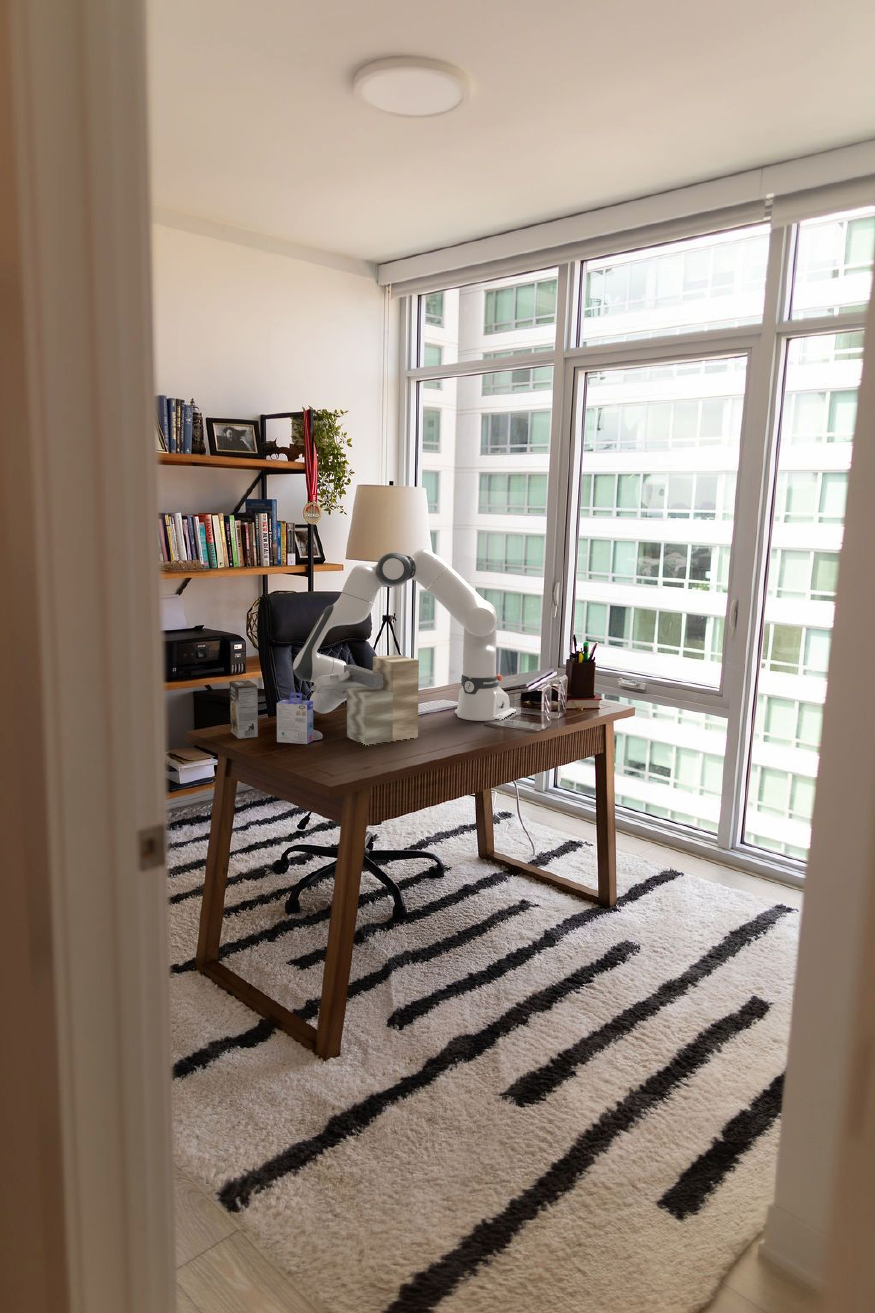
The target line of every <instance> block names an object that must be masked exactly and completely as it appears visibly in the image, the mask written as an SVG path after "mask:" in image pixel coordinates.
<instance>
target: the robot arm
mask: <svg viewBox="0 0 875 1313" xmlns="http://www.w3.org/2000/svg"><path fill="white" fill-rule="evenodd" d="M409 580H412V581H415V582H417V583H418V584H420V586H422V587H423V588H424V589H425V590H426V592H428V593H429V594H430V595H431V596H433V598H435V600H437V602H438V603H440V604H441V606H443V607H444V608H445V609H446V610H447V611H448V613H449V614H450V615H451V616H452V617H453V618H454V619H455V620H456V621H457V622H458V623H459V624H460V625H461V626H462V627H463V647H462V648H463V652H462V653H463V654H462V674H461V679H460V681H461V682H460V684H461V688H460V689H459V691H458V698H457V699H458V700H457V708H455V709H454V713H455V714H456V716H457V717H458V718H460V719H463V720H467V721H478V722H479V721H481V722H484V721H495V720H494V719H503V720H505V719H506V718H505V717H507V716H508V715H510V714H511V713H514V712H515V711H516V712H517V709H516V708H513V707H510V696H509V695H508V693H507V692H506V691H504V690H503V689H502V688H501V687H500V685H499V682H503V679H504V678H503V675H502V674H497V626H498V625H497V624H498V613H497V610H496V607H495V606H494V605H493V604H492V603H491V602H490V601H488V600H486V599H484V598H483V597H482V596H480V594H479V593H478V592H477V591H476V590H475V589H474V588H473V587H472V586H471V584H469V583H468V582H467V581H466V580H465V579H464V578H463V577H462V576H461V575H460V574H459V573H458V572H457V571H456V570H455V569H454V568H452V567H451V566H450V565H449V564H448V563H447V561H445V560H444V559H443V558H441V557H440V556H439V555H438V554H436V553H434V552H432V551H431V550H429V549H427V548H422V549H419V550H417V551H415V552H414V553H413V554H412V555H406V554H402V553H398V552H389V553H385V555H382V556H381V557H380V559H379V560H378V562H377V564H376V565H374V566H370V565H368V564H359V565H355V566H354V567H353V568H352V569H351V571H350V573H349V575H348V577H347V579H346V581H345V583H344V585H343V588H342V590H341V594H340V595H339V598H338V599H337V600H336V601H335V602H334V603H332V604H331V605H327V606H326V607H325V609H324V610H323V611H322V612H321V614H320V616H319V617H318V619H317V621H316V622H315V624H314V626H313V628H312V630H311V632H310V634H309V635H308V637H307V639H306V641H305V642H304V644H303V646H302V648H301V649H300V651H299V653H298V654H297V655H296V657H295V659H294V661H293V664H292V671H293V673H294V675H295V676H296V678H297V679H298V680H300V681H305V682H310V683H313V684H314V685H312V686H311V687H310V689H309V690H310V691H311V692H312V691H313V692H312V694H311V696H310V698H309V701H313V711H315V712H317V713H318V714H327V713H330V712H332V711H333V710H335V709H336V708H338V707H339V706H340V704H342V703H344V702H345V701H347V689H348V688H357V687H366V686H365V685H363V684H360V683H357V682H354V681H351V680H348V679H347V678H350V677H351V676H352V672H351V671H346V672H345V673H344V665H348V663H347V662H346V661H344V660H342V659H339V658H336V657H332V656H329V655H326V654H321V653H319V652H318V651H319V650H318V649H320V646H321V645H322V643H323V641H324V639H325V637H326V636H327V633H328V632H329V630H331V629H332V628H334V627H337V626H346V625H347V626H349V625H356V624H360V623H362V622H363V621H366V619H368V617H369V615H370V613H371V611H372V609H373V606H374V603H375V599H376V596H377V595H378V592H379V590H380V589H381V588H382V587H383V588H398V587H401V586H403V585H404V584H406V583H407V581H409ZM514 714H515V713H514ZM504 718H505V719H504ZM507 718H508V717H507Z"/></svg>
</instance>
